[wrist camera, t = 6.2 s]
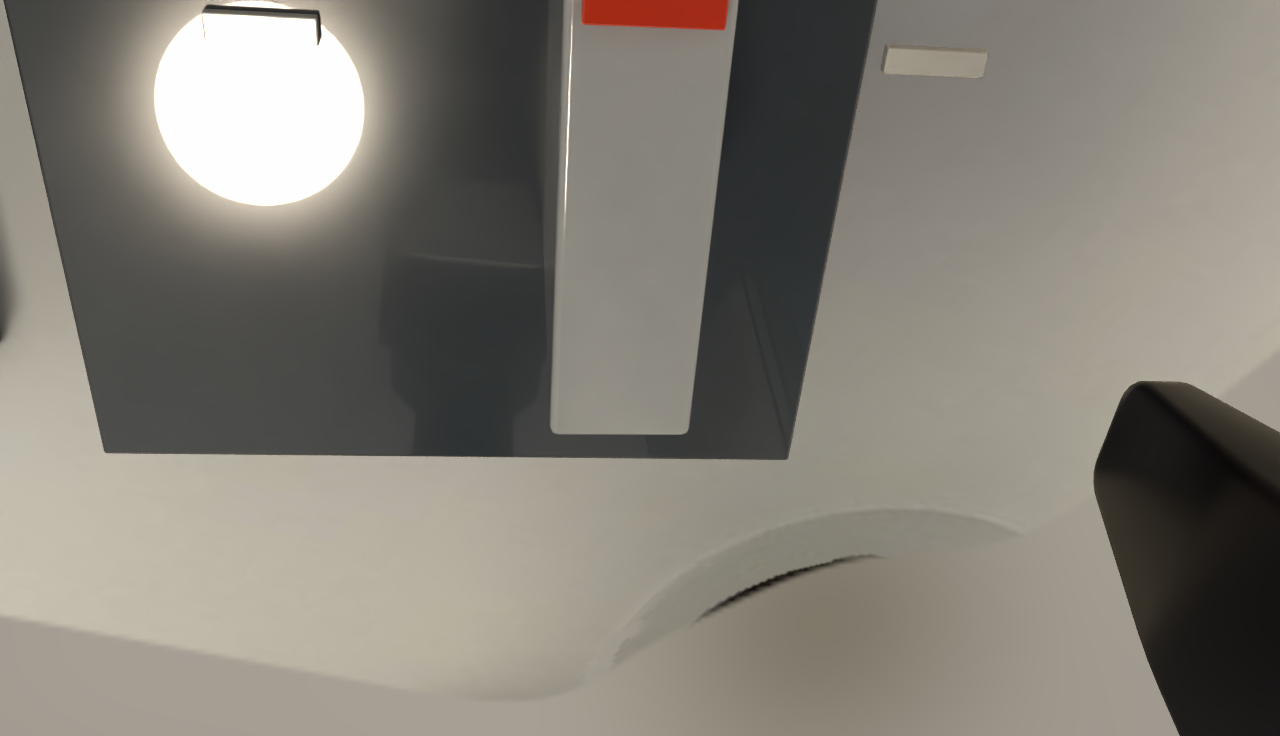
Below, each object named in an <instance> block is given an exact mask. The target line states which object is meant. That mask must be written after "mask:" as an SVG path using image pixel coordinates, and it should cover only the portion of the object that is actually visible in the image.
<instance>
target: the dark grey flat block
mask: <svg viewBox="0 0 1280 736" xmlns="http://www.w3.org/2000/svg"><path fill="white" fill-rule="evenodd" d="M877 1H878V0H739V7H738V16H737V24H736V33H735V41H734V50H733V59H732V67H731V76H730V84H729V93H728V101H727V110H726V118H725V127H724V136H723V144H722V153H721V161H720V170H719V178H718V187H717V195H716V204H715V213H714V221H713V230H712V238H711V247H710V255H709V264H708V273H707V281H706V290H705V298H704V307H703V315H702V324H701V332H700V341H699V350H698V358H697V367H696V375H695V384H694V392H693V401H692V409H691V418H690V427H689V429H688V431H687V433H685V434H682V435H608V434H555V433H553V432H552V430H551V428H550V423H549V396H548V369H547V342H546V315H545V288H544V262H543V216H544V176H545V137H546V98H547V59H548V20H549V0H4V4H5V9H6V13H7V18H8V22H9V27H10V31H11V36H12V40H13V45H14V49H15V54H16V58H17V63H18V67H19V72H20V76H21V81H22V85H23V90H24V94H25V98H26V103H27V107H28V112H29V116H30V121H31V125H32V130H33V134H34V139H35V143H36V148H37V152H38V157H39V161H40V166H41V170H42V175H43V179H44V184H45V188H46V193H47V197H48V202H49V206H50V210H51V215H52V219H53V224H54V228H55V233H56V237H57V242H58V246H59V251H60V255H61V260H62V264H63V269H64V273H65V278H66V282H67V287H68V291H69V296H70V300H71V305H72V309H73V314H74V318H75V322H76V327H77V331H78V336H79V340H80V345H81V349H82V354H83V358H84V363H85V367H86V372H87V376H88V381H89V385H90V390H91V394H92V399H93V403H94V408H95V412H96V417H97V421H98V426H99V430H100V435H101V439H102V443H103V448H104V452H105V453H134V454H237V455H341V456H444V457H548V458H652V459H755V460H786V459H788V457H789V452H790V447H791V442H792V436H793V431H794V426H795V421H796V416H797V411H798V406H799V401H800V395H801V390H802V385H803V380H804V375H805V370H806V365H807V360H808V355H809V349H810V344H811V339H812V334H813V329H814V324H815V319H816V314H817V308H818V303H819V298H820V293H821V288H822V283H823V278H824V273H825V268H826V262H827V257H828V252H829V247H830V242H831V237H832V232H833V227H834V221H835V216H836V211H837V206H838V201H839V196H840V191H841V186H842V181H843V175H844V170H845V165H846V160H847V155H848V150H849V145H850V140H851V134H852V129H853V124H854V119H855V114H856V109H857V104H858V99H859V94H860V88H861V83H862V78H863V73H864V68H865V63H866V58H867V53H868V47H869V42H870V37H871V32H872V27H873V22H874V17H875V12H876V6H877ZM987 58H988V52H987V51H986V50H985V49H966V48H947V47H928V46H909V45H890V44H886V45H885V50H884V55H883V59H882V64H881V71H882V72H883V73H884V74H903V75H923V76H943V77H964V78H983V74H984V70H985V66H986V62H987Z"/></svg>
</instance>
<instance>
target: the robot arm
mask: <svg viewBox="0 0 1280 736" xmlns="http://www.w3.org/2000/svg"><path fill="white" fill-rule="evenodd" d="M1094 491H1095V495H1096V499H1097V502H1098V505H1099V508H1100V512H1101V515H1102V518H1103V521H1104V525H1105V528H1106V531H1107V534H1108V538H1109V541H1110V544H1111V547H1112V550H1113V554H1114V557H1115V560H1116V563H1117V567H1118V570H1119V573H1120V576H1121V579H1122V582H1123V586H1124V589H1125V592H1126V595H1127V599H1128V602H1129V605H1130V608H1131V611H1132V615H1133V618H1134V621H1135V625H1136V628H1137V631H1138V634H1139V637H1140V640H1141V643H1142V645H1143V648H1144V651H1145V654H1146V657H1147V660H1148V662H1149V665H1150V667H1151V670H1152V672H1153V675H1154V677H1155V680H1156V682H1157V685H1158V687H1159V689H1160V692H1161V694H1162V696H1163V698H1164V701H1165V703H1166V706H1167V708H1168V710H1169V712H1170V715H1171V717H1172V719H1173V722H1174V724H1175V726H1176V728H1177V731H1178V733H1179V735H1180V736H1280V432H1278V431H1276V430H1274V429H1272V428H1270V427H1269V426H1267V425H1265V424H1263V423H1261V422H1259V421H1258V420H1256V419H1254V418H1252V417H1250V416H1248V415H1246V414H1244V413H1243V412H1241V411H1239V410H1237V409H1235V408H1233V407H1231V406H1230V405H1228V404H1226V403H1224V402H1222V401H1220V400H1219V399H1217V398H1215V397H1213V396H1211V395H1209V394H1208V393H1206V392H1204V391H1202V390H1200V389H1198V388H1196V387H1195V386H1193V385H1190V384H1188V383H1183V382H1162V381H1139V382H1137V383H1135V384H1133V385H1131V386H1130V387H1129V388H1128V389H1127V390H1126V391H1125V392H1124V394H1123V396H1122V398H1121V400H1120V402H1119V405H1118V407H1117V410H1116V412H1115V415H1114V418H1113V420H1112V423H1111V425H1110V428H1109V430H1108V433H1107V435H1106V438H1105V440H1104V443H1103V445H1102V448H1101V450H1100V453H1099V455H1098V458H1097V461H1096V464H1095V469H1094Z"/></svg>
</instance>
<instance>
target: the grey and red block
mask: <svg viewBox="0 0 1280 736" xmlns="http://www.w3.org/2000/svg"><path fill="white" fill-rule="evenodd" d="M738 7H739V0H549V20H548V59H547V98H546V137H545V176H544V216H543V262H544V288H545V315H546V342H547V369H548V396H549V423H550V428H551V430H552V432H553V433H555V434H608V435H682V434H685V433H687V431H688V429H689V427H690V418H691V409H692V401H693V392H694V384H695V375H696V367H697V358H698V350H699V341H700V332H701V324H702V315H703V307H704V298H705V290H706V281H707V273H708V264H709V255H710V247H711V238H712V230H713V221H714V213H715V204H716V195H717V187H718V178H719V170H720V161H721V153H722V144H723V136H724V127H725V118H726V110H727V101H728V93H729V84H730V76H731V67H732V59H733V50H734V41H735V33H736V24H737V16H738Z"/></svg>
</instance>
